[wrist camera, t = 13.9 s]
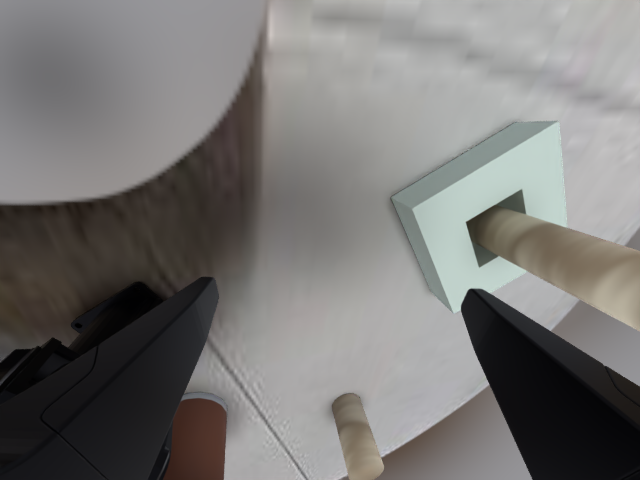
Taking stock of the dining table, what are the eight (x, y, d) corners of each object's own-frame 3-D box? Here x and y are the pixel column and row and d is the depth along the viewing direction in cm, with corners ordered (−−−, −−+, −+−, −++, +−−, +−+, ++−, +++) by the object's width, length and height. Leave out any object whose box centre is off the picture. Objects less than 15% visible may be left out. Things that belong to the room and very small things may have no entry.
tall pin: (472, 239, 25) (679, 348, 13) (444, 228, 24) (642, 337, 11) (492, 205, 24) (742, 288, 12) (465, 193, 23) (708, 269, 10)
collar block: (431, 292, 27) (453, 314, 24) (390, 197, 22) (411, 208, 19) (532, 233, 26) (569, 247, 23) (515, 122, 21) (559, 120, 18)
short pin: (340, 417, 32) (358, 487, 26) (326, 403, 31) (342, 474, 24) (364, 403, 32) (389, 470, 26) (352, 389, 31) (375, 456, 24)
